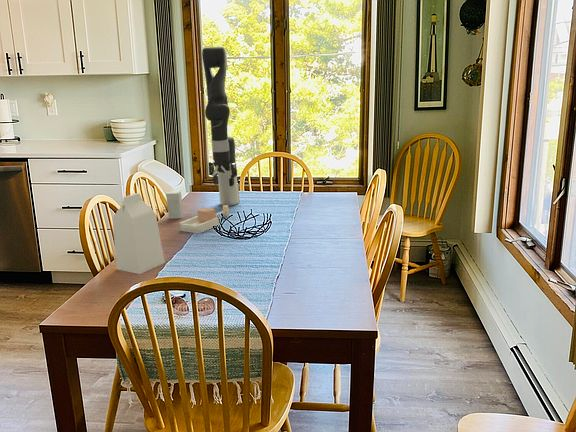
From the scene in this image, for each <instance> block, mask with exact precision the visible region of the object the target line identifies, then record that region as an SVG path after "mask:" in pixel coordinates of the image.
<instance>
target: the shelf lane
mask: <svg viewBox="0 0 576 432" xmlns="http://www.w3.org/2000/svg"><path fill="white" fill-rule="evenodd" d="M217 225H219V226H220V218H219V217H217V216H216V218H214V219H211V220H209V221H206V222H198V215H196V216H194V217H190V218H188V219H185V220H183V221H180V222H179V231H180V232H186V233H188V232H189V233H192V234H193V233H194V234H199V233H200V234H202V233H201V232H203V233H205V232H207V231H209V229H210V230H211V228H212V229H214V228H213V226H217ZM217 227H218V226H217ZM206 230H207V231H206ZM204 231H205V232H204ZM196 232H197V233H196Z"/></svg>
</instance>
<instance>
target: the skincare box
mask: <svg viewBox="0 0 576 432" xmlns="http://www.w3.org/2000/svg"><path fill="white" fill-rule="evenodd" d="M165 196H166V204H167V205H166V206H167V214H168V219H182V218H183V217H184V215H185V214H184V207H183V199H182V198H183V197H182V191H181V190H180V191H179V190H178V191H168V192H166V193H165Z"/></svg>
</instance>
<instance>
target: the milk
mask: <svg viewBox="0 0 576 432" xmlns="http://www.w3.org/2000/svg"><path fill="white" fill-rule="evenodd" d="M157 218H158V217H157V215H156V212H155V211H154V210H153V209H152V208H151V207H150V206H149V205H148V204H147V203H146V202H145V201H144V200H143V197H142V195H141V194H140V192H139V193H138V192H136V193H132V194H129V195H126V196H123V200H122V204H121V206H120V207H119V209H118V210H117V211H116V212H115V213H114V215H113V216H112V230H113V241H114V253H115V262H116V263H115V264H116V270H119V271H123V272H128V273H133V274H137V275H141V274H143V273H145V272H148V271H150V270H153V269H154V268H156V267H159V266H161V265H163V264H165V263H166V262H165V257H164V256H165V255H164V251H163V247H162V241H161V240H162V239H161V236H160V235H161V234H160V230H159V225H158V220H157Z"/></svg>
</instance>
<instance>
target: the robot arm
mask: <svg viewBox="0 0 576 432" xmlns="http://www.w3.org/2000/svg"><path fill="white" fill-rule="evenodd" d="M201 55H202V57H201V58H202V64H203V69H204V70H203V71H204V76H205V84H206V95H207V104H206V106H205V111H204V116H205V118H206V119H207V120H208V121H210V128H211V130H210V134H211V147H212V148H211V150H212V160H213V161H210V162H209V161H208V174H209V176H212V177H213V179H212V180H213V184H214V185H215V186H217V185H218V193H219V195H218V196H219V205H221V206H224V205H228V206H235V205H237V204H239V202H240V187H239V183H238V177H237V176H238V171H237V162H236V143H235V139H234V137H232V136H228V135H229V134H228V124H229V118H230V113H231V110H230V107H229V102H228V95H227V93H226V90H225V89H226V86H225V85H226V77H227V68H228V67H227V66H228V57H227V56H228V53H227V50H226V48H225V47H224V46H212V47H211V46H210V47H209V46H208V47H204V48H203V49H202V51H201ZM215 68H216V69H217V68H218V70H217V72H216V73H215V75H214V74H213V71H212V69H215Z"/></svg>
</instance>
